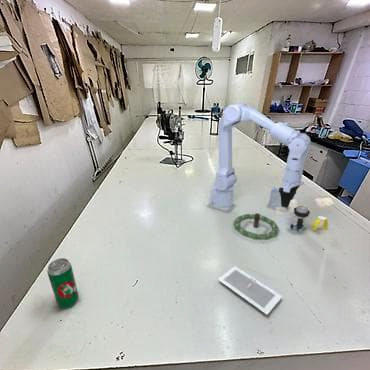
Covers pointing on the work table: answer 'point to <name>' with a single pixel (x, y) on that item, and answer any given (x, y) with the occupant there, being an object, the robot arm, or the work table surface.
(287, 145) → the robot arm
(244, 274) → the touchpad
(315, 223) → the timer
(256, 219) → the peg
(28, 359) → the work table surface
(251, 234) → the ring
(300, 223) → the push button
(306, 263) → the work table surface
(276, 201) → the medicine box
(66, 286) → the soda can
